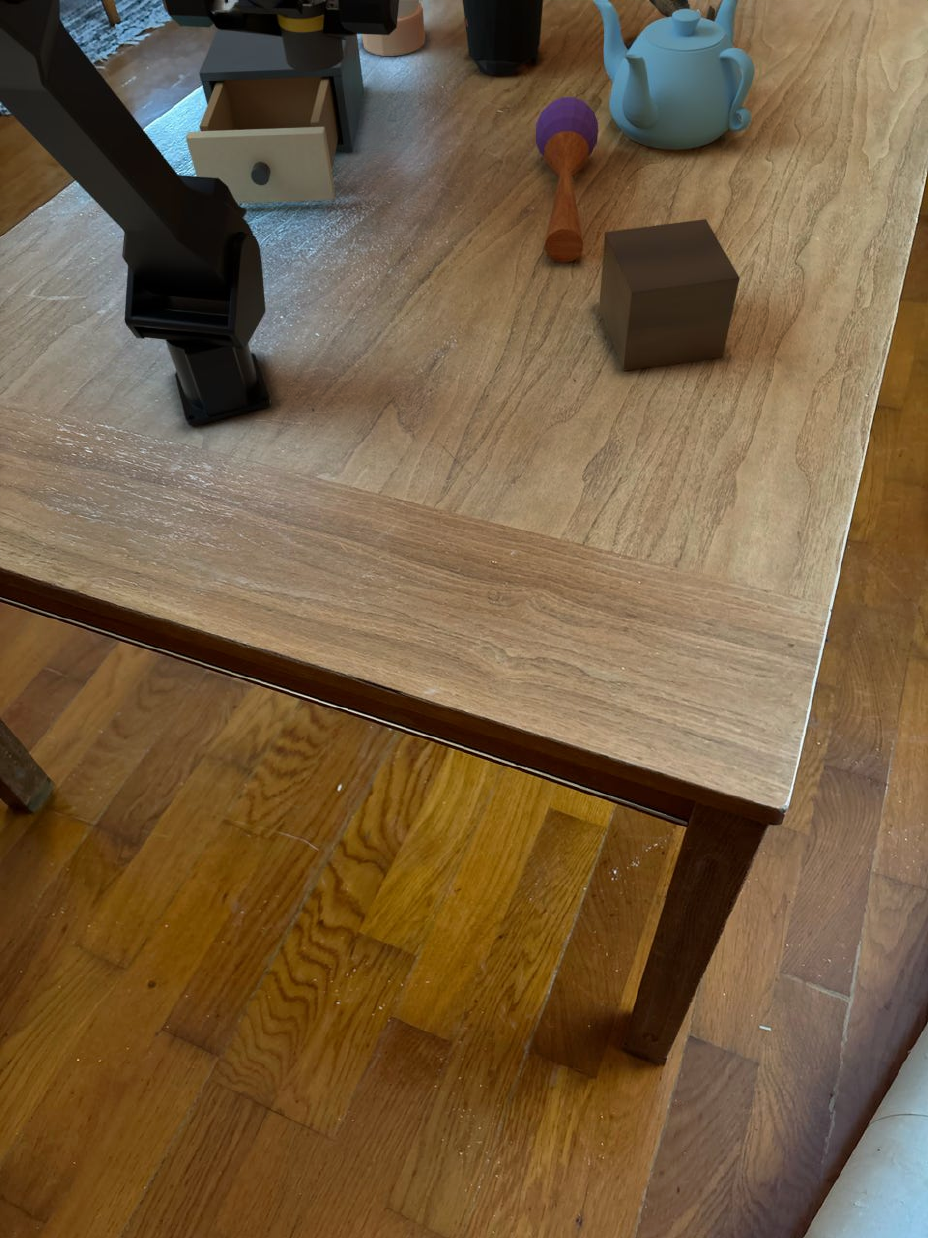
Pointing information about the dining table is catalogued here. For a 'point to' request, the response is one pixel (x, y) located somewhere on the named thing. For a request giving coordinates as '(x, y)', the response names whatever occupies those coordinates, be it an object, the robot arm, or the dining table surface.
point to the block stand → (666, 294)
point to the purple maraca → (565, 169)
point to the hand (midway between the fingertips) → (317, 32)
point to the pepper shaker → (400, 32)
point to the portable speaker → (502, 33)
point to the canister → (309, 40)
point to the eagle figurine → (668, 3)
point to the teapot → (677, 78)
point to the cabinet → (285, 72)
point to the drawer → (269, 139)
